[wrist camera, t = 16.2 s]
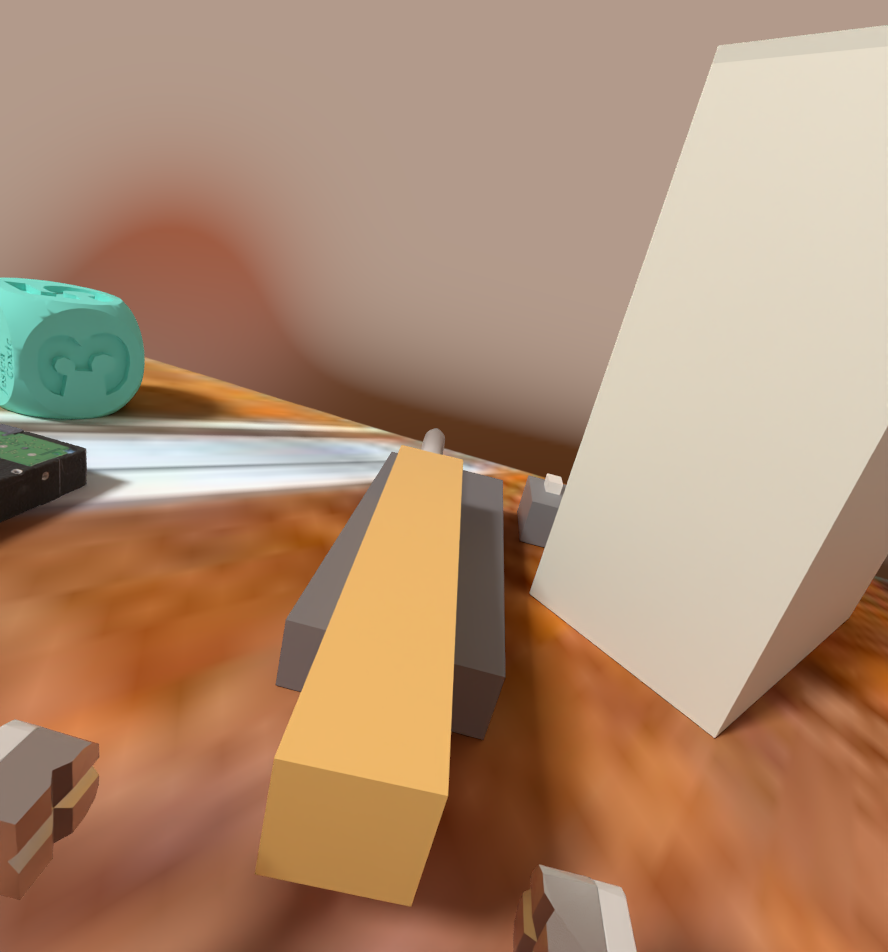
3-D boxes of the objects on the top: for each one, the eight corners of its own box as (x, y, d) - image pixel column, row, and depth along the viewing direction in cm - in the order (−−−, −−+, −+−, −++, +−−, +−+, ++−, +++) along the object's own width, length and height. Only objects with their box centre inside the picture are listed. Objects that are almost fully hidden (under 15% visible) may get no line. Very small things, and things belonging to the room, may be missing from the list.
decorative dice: (-28, 387, 39) (-38, 271, 36) (93, 383, 45) (93, 285, 42) (18, 425, 35) (12, 299, 32) (144, 415, 41) (148, 309, 39)
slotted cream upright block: (701, 539, 45) (865, 182, 35) (849, 617, 37) (1107, 193, 28) (529, 593, 30) (728, 15, 21) (714, 738, 23) (1152, -53, 14)
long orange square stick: (407, 449, 39) (417, 404, 38) (453, 460, 39) (465, 416, 38) (254, 874, 11) (273, 758, 10) (410, 906, 12) (448, 795, 10)
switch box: (619, 537, 41) (637, 492, 40) (634, 570, 36) (655, 521, 35) (517, 511, 41) (531, 465, 40) (519, 540, 36) (536, 490, 35)
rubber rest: (491, 518, 39) (502, 480, 38) (483, 739, 20) (505, 677, 19) (383, 490, 39) (392, 451, 38) (275, 685, 20) (286, 619, 19)
